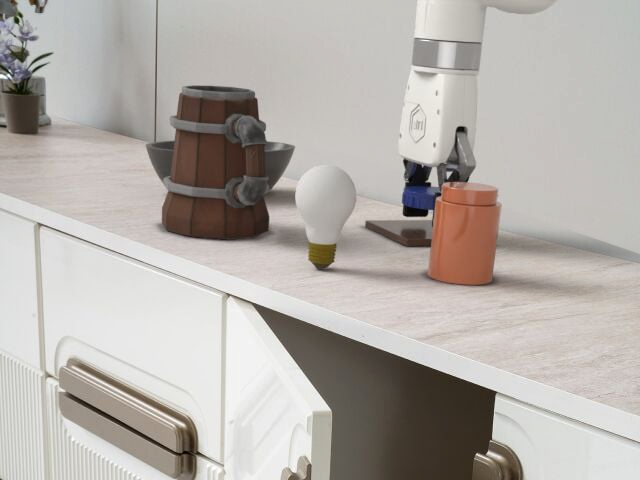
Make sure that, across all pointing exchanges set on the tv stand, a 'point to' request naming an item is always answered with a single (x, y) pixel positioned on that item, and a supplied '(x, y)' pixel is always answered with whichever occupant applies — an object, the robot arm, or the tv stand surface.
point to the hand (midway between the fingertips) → (429, 220)
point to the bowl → (274, 159)
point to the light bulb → (324, 210)
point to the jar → (465, 233)
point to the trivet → (404, 231)
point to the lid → (419, 197)
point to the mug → (217, 165)
